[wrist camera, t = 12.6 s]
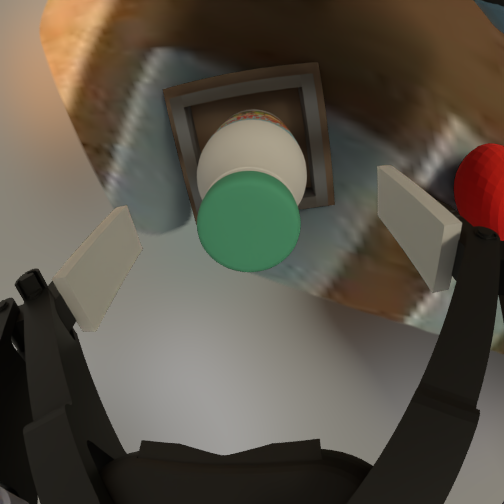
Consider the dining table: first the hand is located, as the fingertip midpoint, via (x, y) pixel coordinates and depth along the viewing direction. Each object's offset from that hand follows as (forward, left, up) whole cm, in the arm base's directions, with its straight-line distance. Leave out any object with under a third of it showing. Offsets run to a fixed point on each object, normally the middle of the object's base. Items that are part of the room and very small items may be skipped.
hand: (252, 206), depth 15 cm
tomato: (+8, +29, -19) cm, 35 cm away
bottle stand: (0, 0, -19) cm, 19 cm away
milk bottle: (0, 0, -18) cm, 18 cm away
